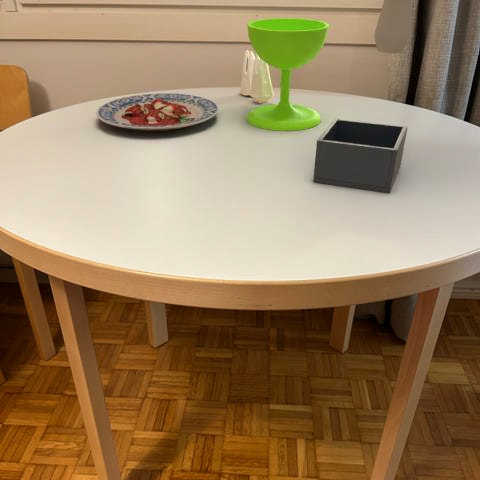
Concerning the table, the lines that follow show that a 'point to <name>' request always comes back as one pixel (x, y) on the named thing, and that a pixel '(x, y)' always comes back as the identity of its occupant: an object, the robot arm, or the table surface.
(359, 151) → the tub
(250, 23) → the wineglass
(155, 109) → the ceramic plate
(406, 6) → the salt shaker
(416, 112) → the table surface
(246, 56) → the shaker set
